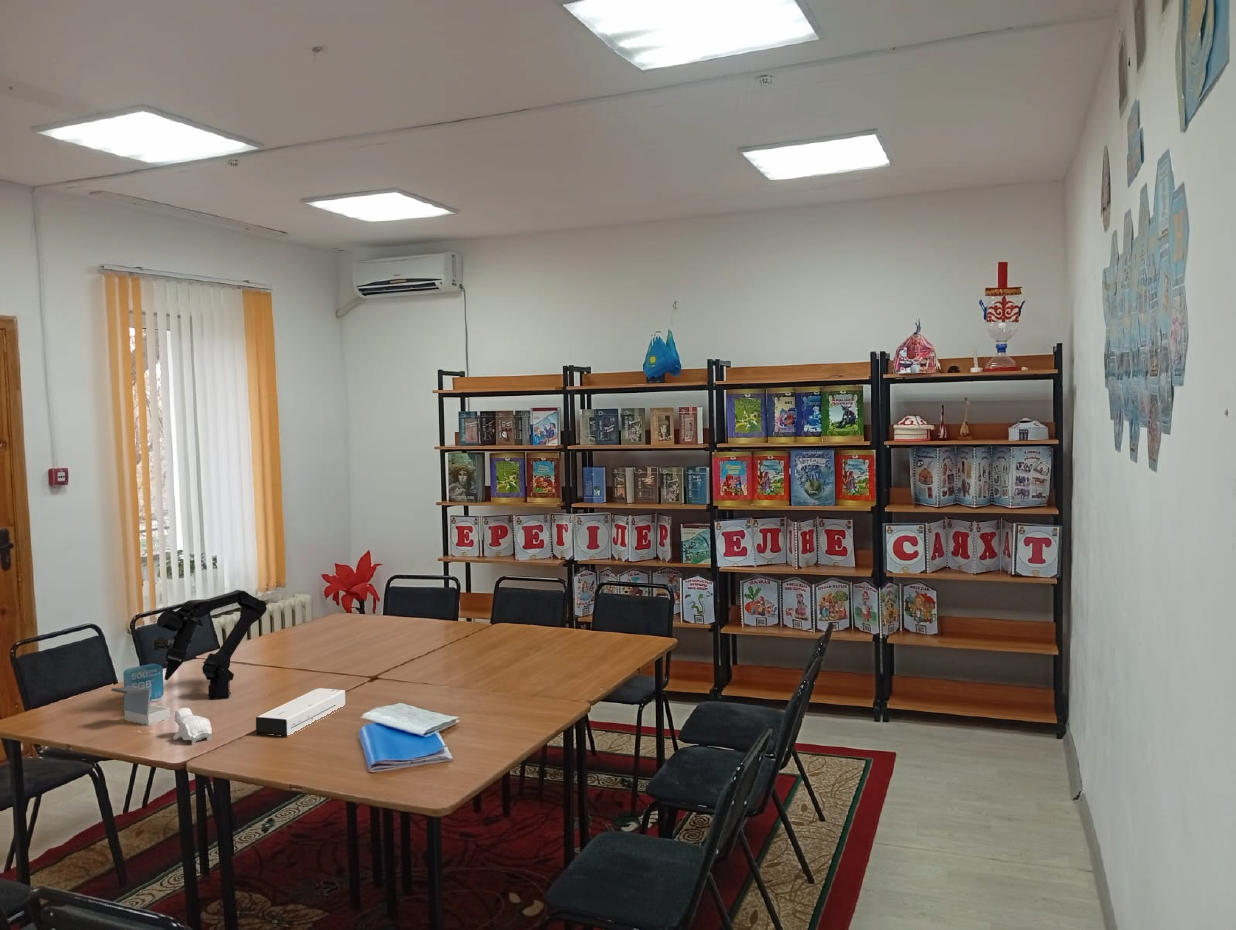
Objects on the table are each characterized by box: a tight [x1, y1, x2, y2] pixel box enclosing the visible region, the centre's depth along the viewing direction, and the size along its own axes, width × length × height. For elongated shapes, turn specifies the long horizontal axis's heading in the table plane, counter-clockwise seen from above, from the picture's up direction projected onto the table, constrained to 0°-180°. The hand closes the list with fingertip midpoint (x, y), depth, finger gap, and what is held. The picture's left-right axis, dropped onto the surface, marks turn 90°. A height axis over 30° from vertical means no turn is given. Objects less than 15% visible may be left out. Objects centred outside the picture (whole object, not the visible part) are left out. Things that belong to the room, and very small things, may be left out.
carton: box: [124, 704, 171, 726], centre depth 305 cm, size 8×12×4 cm, turn 63°
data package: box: [122, 663, 164, 701], centre depth 328 cm, size 12×4×12 cm, turn 142°
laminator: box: [255, 687, 347, 737], centre depth 304 cm, size 34×12×6 cm, turn 165°
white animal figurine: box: [172, 707, 213, 745], centre depth 286 cm, size 9×8×15 cm
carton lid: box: [111, 686, 151, 715], centre depth 299 cm, size 8×12×7 cm
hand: (165, 679), depth 313 cm, fingers closed
